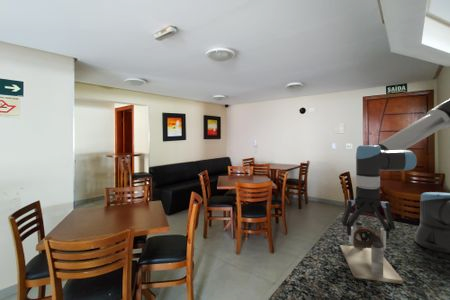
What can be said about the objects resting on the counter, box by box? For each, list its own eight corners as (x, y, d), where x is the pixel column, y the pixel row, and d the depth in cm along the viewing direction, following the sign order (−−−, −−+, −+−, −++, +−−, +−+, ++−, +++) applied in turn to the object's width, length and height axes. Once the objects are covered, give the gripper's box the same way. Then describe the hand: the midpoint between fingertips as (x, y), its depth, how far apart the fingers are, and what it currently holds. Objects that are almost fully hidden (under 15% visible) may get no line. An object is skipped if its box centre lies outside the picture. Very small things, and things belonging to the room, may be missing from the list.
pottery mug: (392, 256, 76) (384, 238, 75) (364, 264, 78) (356, 247, 77) (373, 233, 88) (366, 217, 86) (349, 241, 90) (342, 226, 88)
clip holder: (376, 251, 91) (377, 222, 90) (403, 285, 70) (404, 248, 69) (339, 247, 95) (339, 219, 94) (354, 278, 74) (354, 243, 73)
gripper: (398, 185, 81) (397, 244, 82) (332, 183, 88) (332, 237, 89) (409, 190, 74) (407, 254, 75) (336, 187, 80) (336, 246, 81)
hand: (366, 245), depth 82 cm, fingers closed on pottery mug, 10 cm apart
